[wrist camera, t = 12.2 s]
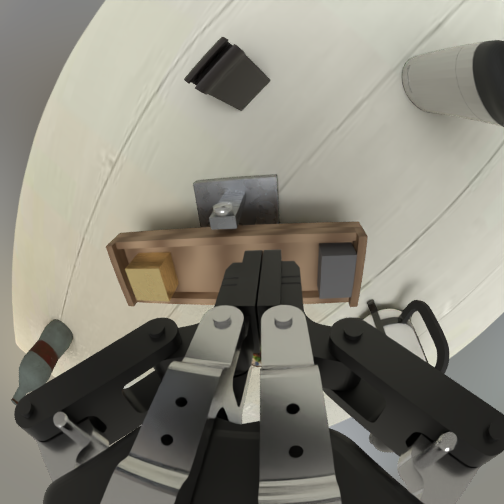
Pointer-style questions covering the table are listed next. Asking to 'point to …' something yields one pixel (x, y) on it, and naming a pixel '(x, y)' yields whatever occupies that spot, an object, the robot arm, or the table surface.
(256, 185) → the pivot stand
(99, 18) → the table surface
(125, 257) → the beam
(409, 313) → the coffee press
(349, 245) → the block
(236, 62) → the phone stand
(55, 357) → the bottle
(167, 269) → the brass block
